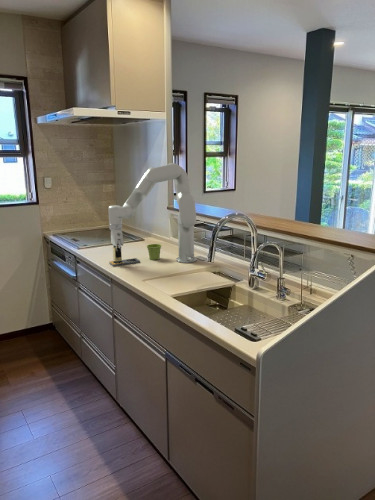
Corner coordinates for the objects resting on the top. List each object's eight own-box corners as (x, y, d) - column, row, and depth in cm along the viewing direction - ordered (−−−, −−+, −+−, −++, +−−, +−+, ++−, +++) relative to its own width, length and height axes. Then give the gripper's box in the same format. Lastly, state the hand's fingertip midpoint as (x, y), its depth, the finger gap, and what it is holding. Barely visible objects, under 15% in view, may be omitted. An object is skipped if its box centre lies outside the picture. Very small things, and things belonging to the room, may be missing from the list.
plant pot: (144, 260, 251) (143, 246, 249) (151, 256, 260) (150, 243, 258) (158, 261, 248) (157, 247, 246) (164, 257, 256) (164, 244, 254)
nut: (121, 260, 242) (121, 247, 240) (115, 261, 240) (114, 248, 238) (119, 259, 245) (119, 246, 244) (113, 259, 244) (112, 247, 242)
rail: (136, 259, 252) (136, 257, 252) (140, 262, 246) (139, 260, 246) (109, 263, 245) (109, 261, 244) (112, 266, 239) (112, 264, 238)
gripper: (126, 228, 232) (127, 258, 237) (117, 223, 247) (119, 252, 251) (113, 229, 229) (115, 260, 233) (105, 224, 243) (107, 254, 248)
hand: (117, 256), depth 242 cm, fingers closed on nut, 4 cm apart
